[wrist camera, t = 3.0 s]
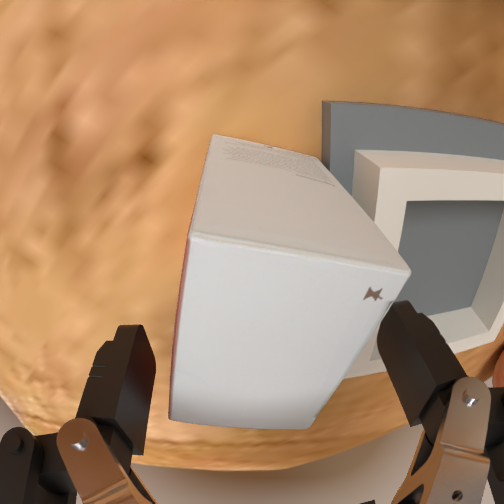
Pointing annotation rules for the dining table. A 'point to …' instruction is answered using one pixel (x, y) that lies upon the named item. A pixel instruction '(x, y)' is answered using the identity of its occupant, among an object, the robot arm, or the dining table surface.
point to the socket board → (428, 210)
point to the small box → (274, 290)
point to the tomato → (499, 372)
